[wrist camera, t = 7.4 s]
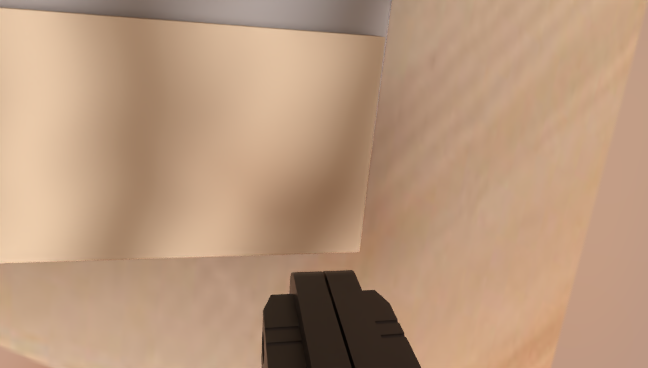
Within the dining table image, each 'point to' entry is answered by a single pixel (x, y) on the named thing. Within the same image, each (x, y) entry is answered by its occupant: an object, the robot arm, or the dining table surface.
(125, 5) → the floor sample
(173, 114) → the plank
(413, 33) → the dining table surface
